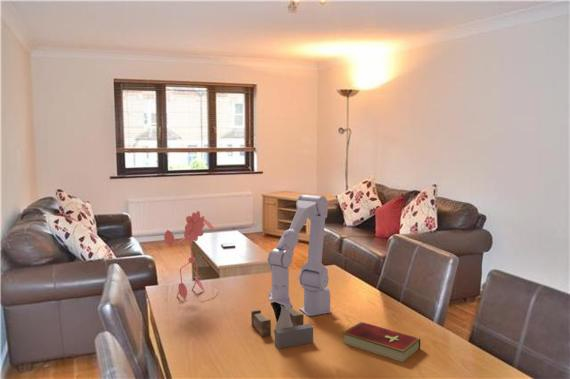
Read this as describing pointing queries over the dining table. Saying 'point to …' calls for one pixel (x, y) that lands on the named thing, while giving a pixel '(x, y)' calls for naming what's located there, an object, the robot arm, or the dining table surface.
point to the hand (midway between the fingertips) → (280, 323)
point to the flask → (283, 319)
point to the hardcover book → (381, 341)
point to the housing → (265, 324)
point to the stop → (293, 336)
